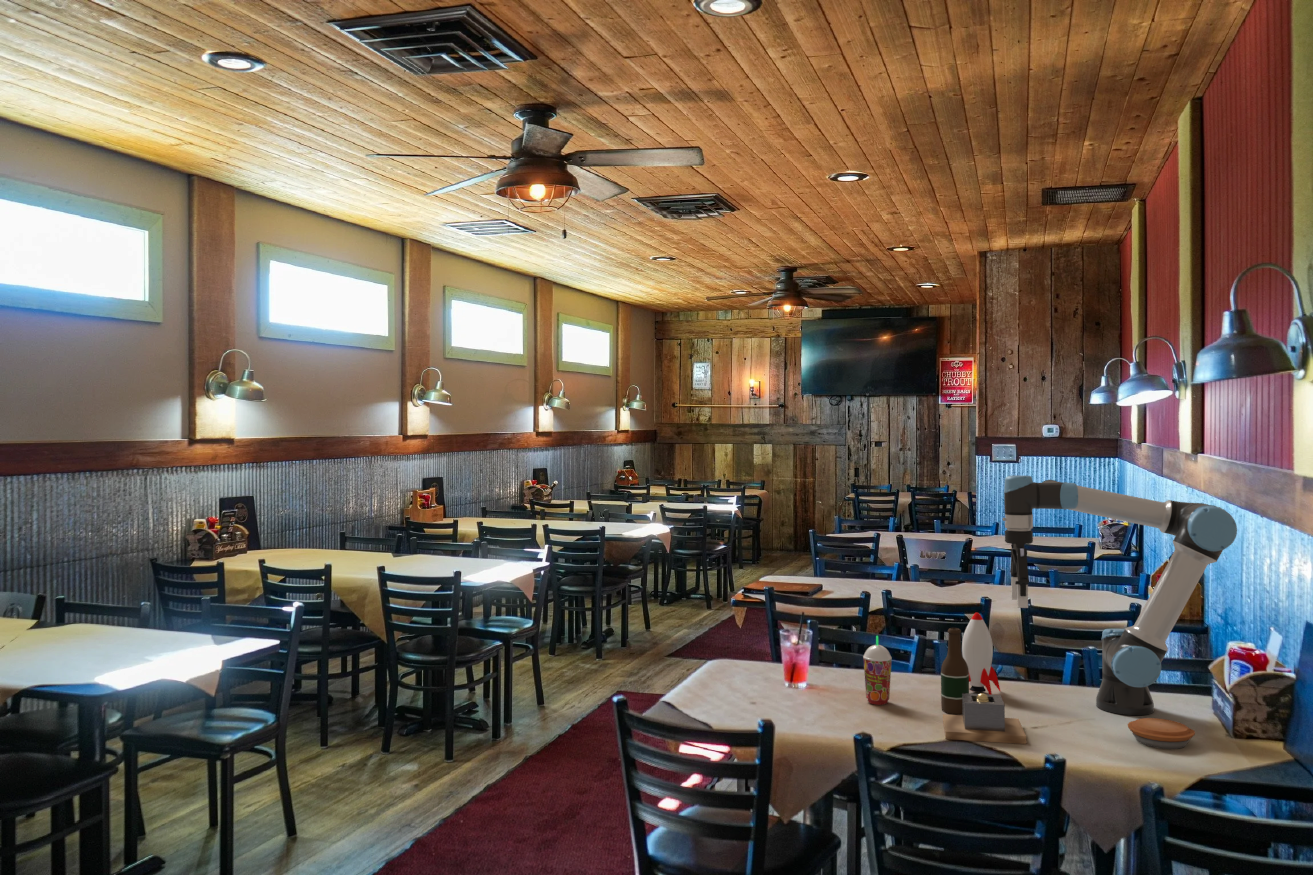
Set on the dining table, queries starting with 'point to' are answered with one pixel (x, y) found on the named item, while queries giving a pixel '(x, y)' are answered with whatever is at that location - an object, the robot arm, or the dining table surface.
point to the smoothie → (877, 674)
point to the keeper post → (982, 697)
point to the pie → (1161, 733)
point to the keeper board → (983, 731)
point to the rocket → (979, 655)
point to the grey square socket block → (983, 713)
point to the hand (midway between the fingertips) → (1019, 603)
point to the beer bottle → (954, 675)
